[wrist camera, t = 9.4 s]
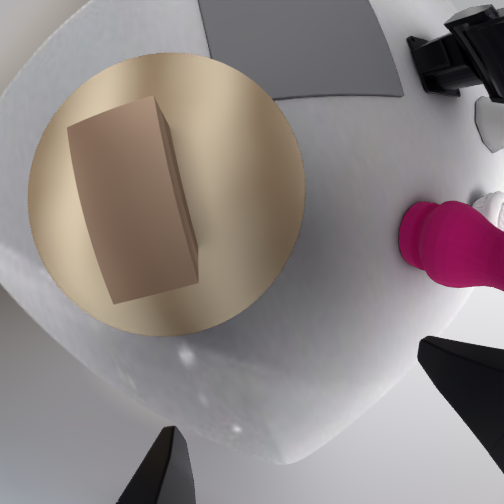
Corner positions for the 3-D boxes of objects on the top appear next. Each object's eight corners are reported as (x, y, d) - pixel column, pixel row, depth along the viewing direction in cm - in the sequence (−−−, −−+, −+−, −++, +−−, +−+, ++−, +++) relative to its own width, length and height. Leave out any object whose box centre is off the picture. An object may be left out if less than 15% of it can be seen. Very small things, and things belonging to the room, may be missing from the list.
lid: (266, 40, 12) (300, -18, 6) (318, 290, 16) (371, 338, 10) (20, 116, 10) (-40, 98, 4) (85, 348, 14) (53, 410, 9)
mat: (348, -29, 15) (351, -32, 14) (400, 97, 19) (404, 95, 18) (190, -35, 13) (190, -39, 12) (222, 107, 17) (223, 105, 16)
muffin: (457, 221, 24) (506, 233, 17) (473, 177, 23) (520, 183, 16) (476, 248, 25) (518, 263, 19) (491, 208, 25) (532, 217, 18)
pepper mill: (381, 251, 22) (588, 359, 3) (412, 181, 21) (620, 219, 2) (423, 280, 24) (579, 370, 5) (450, 219, 23) (611, 271, 4)
